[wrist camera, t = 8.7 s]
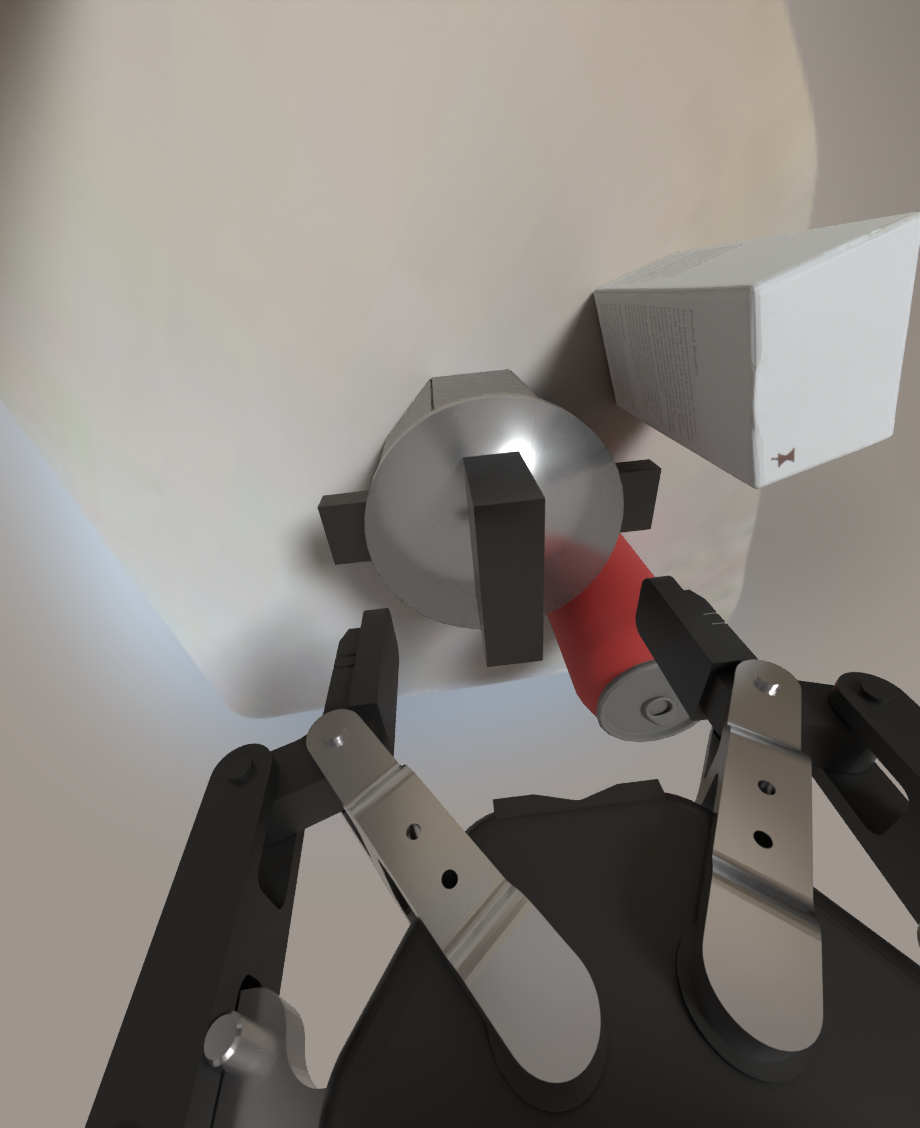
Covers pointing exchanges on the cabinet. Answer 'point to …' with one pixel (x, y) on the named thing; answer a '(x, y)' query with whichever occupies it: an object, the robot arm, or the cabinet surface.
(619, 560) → the beer can
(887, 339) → the skincare box
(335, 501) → the pot
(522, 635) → the lid
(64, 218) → the cabinet surface
